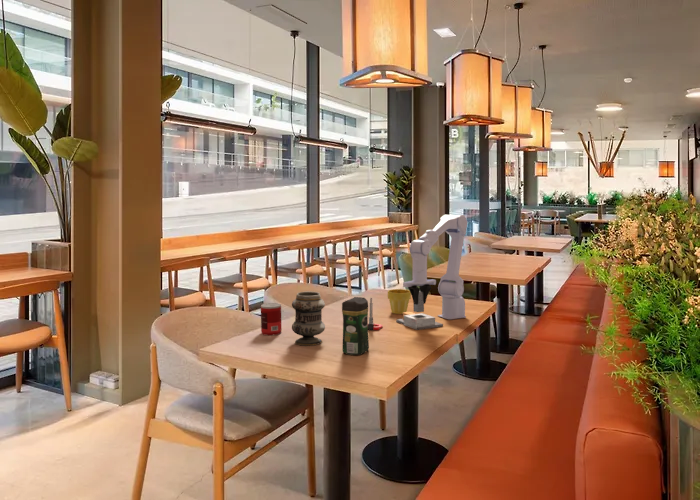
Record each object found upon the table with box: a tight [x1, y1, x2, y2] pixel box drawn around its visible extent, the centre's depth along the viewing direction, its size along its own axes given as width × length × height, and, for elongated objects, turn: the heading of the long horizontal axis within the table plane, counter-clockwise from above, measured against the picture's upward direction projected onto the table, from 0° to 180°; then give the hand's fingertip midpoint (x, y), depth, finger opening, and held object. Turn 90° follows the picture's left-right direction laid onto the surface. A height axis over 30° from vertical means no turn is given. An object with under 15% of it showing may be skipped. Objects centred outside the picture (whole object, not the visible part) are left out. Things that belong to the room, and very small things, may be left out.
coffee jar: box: [341, 296, 370, 356], centre depth 193 cm, size 10×8×19 cm
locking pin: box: [412, 291, 425, 313], centre depth 230 cm, size 3×3×8 cm
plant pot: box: [387, 288, 412, 315], centre depth 256 cm, size 10×10×10 cm
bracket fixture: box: [395, 311, 444, 331], centre depth 233 cm, size 12×16×4 cm
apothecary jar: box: [291, 290, 326, 347], centre depth 206 cm, size 12×12×18 cm
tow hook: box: [368, 297, 383, 331], centre depth 228 cm, size 8×13×9 cm
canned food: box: [260, 302, 283, 336], centre depth 220 cm, size 8×8×11 cm
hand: (419, 303), depth 229 cm, fingers closed on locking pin, 3 cm apart
